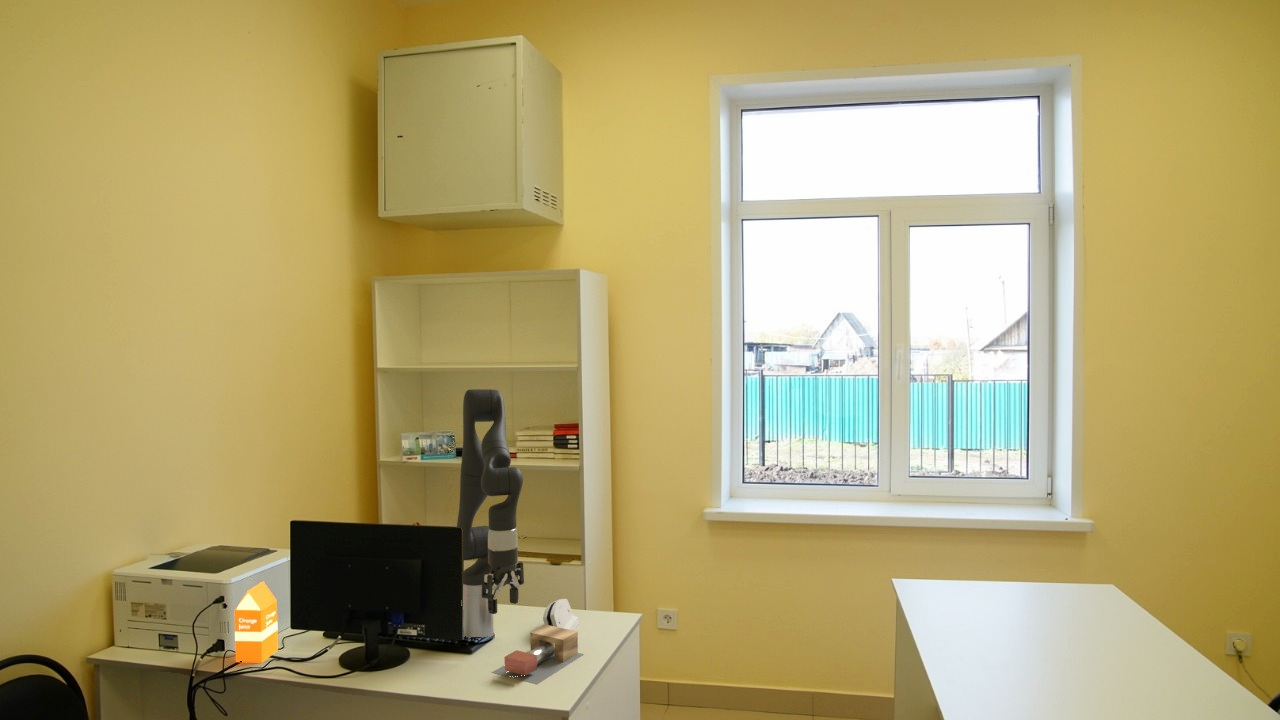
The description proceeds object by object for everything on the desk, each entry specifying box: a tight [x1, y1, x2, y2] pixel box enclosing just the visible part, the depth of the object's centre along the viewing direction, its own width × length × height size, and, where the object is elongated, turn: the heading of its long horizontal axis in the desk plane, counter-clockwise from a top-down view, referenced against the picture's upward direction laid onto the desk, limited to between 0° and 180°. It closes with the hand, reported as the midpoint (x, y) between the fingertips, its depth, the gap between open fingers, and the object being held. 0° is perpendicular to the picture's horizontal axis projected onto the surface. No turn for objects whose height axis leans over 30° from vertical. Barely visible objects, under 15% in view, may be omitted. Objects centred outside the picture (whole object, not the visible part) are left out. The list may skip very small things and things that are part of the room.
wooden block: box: [529, 624, 579, 663], centre depth 229 cm, size 11×7×6 cm, turn 60°
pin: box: [504, 642, 554, 675], centre depth 220 cm, size 15×7×5 cm, turn 150°
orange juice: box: [234, 581, 279, 664], centre depth 229 cm, size 8×9×20 cm
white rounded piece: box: [542, 598, 581, 631], centre depth 247 cm, size 17×5×10 cm, turn 169°
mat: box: [491, 649, 585, 685], centre depth 223 cm, size 15×22×1 cm
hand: (503, 608), depth 208 cm, fingers open, 8 cm apart
